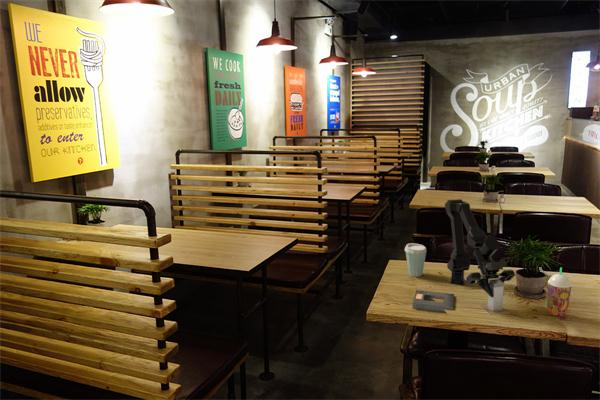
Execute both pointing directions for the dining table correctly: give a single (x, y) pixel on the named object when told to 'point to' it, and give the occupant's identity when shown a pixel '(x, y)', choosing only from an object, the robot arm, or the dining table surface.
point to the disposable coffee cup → (415, 259)
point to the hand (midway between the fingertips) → (497, 296)
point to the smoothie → (558, 294)
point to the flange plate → (432, 301)
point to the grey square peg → (496, 295)
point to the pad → (494, 312)
